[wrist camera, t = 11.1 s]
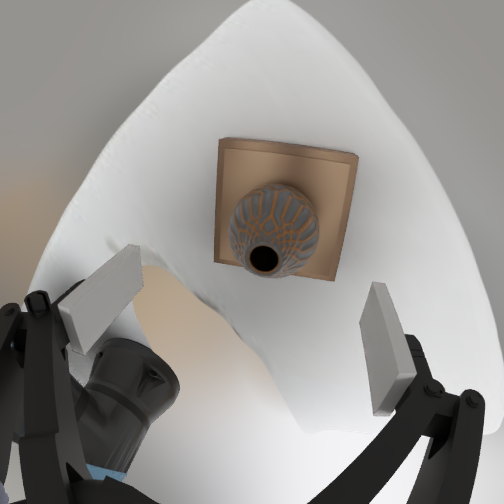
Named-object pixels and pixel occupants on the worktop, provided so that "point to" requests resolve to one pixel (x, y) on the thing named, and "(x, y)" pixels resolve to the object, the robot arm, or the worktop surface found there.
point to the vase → (273, 231)
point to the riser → (294, 175)
